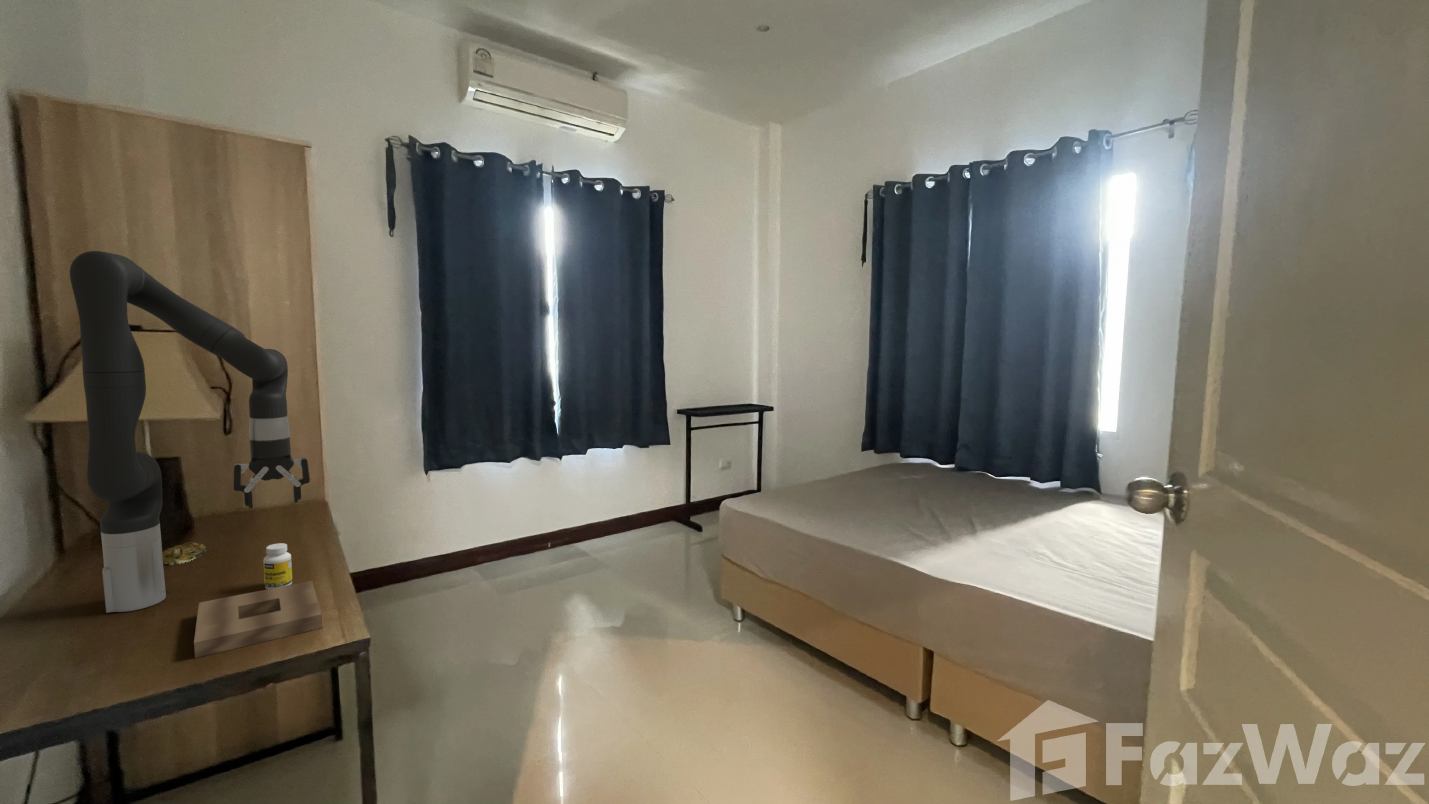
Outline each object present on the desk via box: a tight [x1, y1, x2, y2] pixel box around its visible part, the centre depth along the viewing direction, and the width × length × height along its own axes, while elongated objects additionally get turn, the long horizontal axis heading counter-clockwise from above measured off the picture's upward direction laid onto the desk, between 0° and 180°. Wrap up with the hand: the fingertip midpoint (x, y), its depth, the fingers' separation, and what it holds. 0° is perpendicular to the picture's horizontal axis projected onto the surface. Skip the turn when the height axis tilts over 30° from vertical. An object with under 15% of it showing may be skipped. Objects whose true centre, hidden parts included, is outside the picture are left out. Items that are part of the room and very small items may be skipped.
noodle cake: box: [162, 541, 207, 566], centre depth 160 cm, size 9×5×15 cm
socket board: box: [193, 580, 323, 659], centre depth 127 cm, size 20×20×3 cm
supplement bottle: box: [262, 542, 293, 590], centre depth 144 cm, size 5×5×10 cm
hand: (273, 504), depth 142 cm, fingers open, 8 cm apart
